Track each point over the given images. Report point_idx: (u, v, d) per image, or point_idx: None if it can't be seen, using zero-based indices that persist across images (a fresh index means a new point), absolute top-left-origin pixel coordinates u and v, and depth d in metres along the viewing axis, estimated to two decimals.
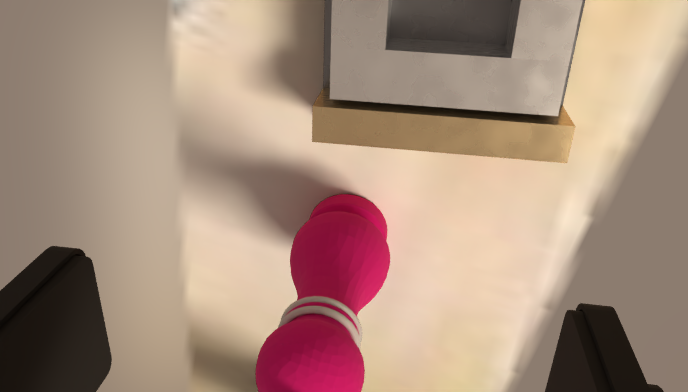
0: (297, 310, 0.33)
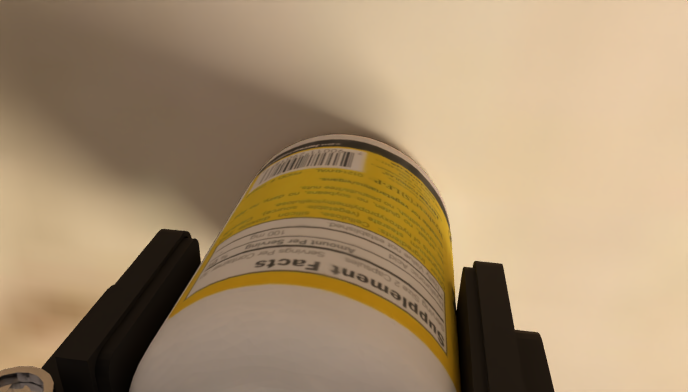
0: None
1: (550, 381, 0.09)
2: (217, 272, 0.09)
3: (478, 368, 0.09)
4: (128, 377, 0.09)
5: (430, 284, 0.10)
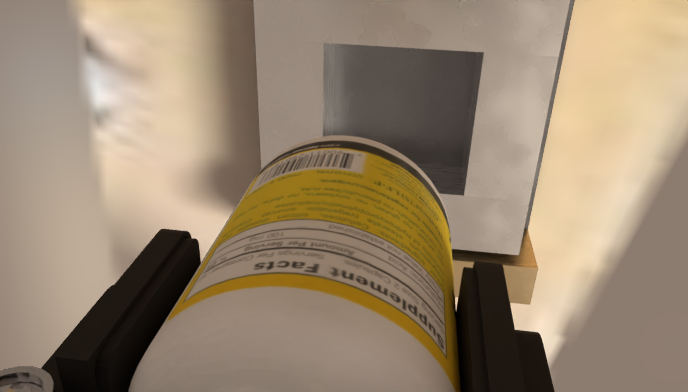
0: None
1: (550, 381, 0.09)
2: (216, 273, 0.09)
3: (478, 368, 0.09)
4: (128, 377, 0.09)
5: (430, 286, 0.10)
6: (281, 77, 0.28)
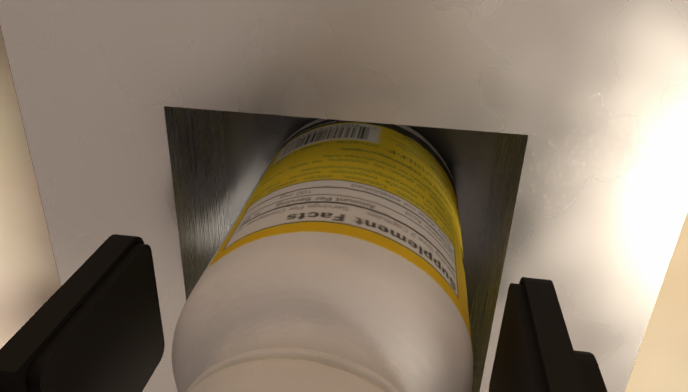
0: None
1: None
2: (252, 225, 0.10)
3: None
4: (65, 387, 0.09)
5: (442, 239, 0.11)
6: (85, 176, 0.13)
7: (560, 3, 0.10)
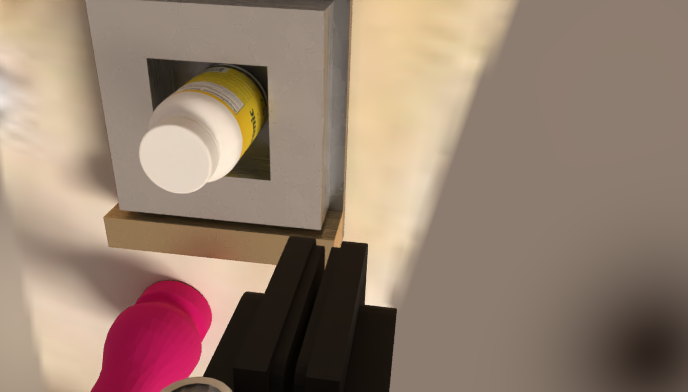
0: None
1: (391, 352, 0.10)
2: (173, 93, 0.33)
3: (310, 337, 0.09)
4: (290, 387, 0.09)
5: (237, 100, 0.34)
6: (118, 85, 0.36)
7: (268, 23, 0.33)
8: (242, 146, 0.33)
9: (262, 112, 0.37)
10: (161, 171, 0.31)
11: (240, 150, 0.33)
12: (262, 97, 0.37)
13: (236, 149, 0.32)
